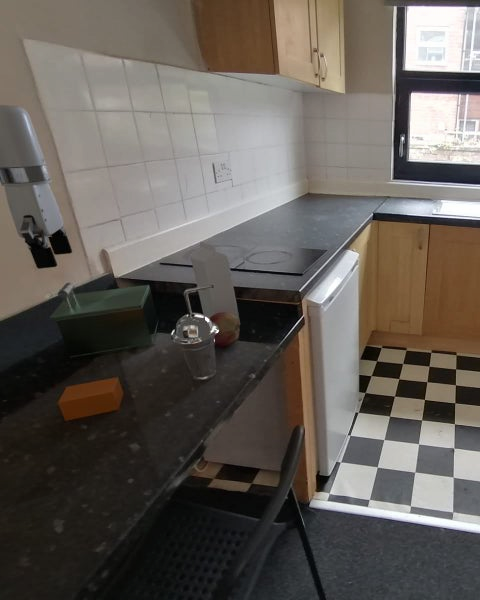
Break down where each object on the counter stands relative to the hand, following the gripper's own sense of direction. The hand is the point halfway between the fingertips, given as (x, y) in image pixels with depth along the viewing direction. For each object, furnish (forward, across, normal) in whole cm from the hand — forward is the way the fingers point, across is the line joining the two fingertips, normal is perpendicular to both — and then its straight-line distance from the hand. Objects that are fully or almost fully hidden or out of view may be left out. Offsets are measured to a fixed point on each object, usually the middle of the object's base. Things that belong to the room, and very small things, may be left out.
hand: (56, 260), depth 85 cm
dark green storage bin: (+21, -1, +6) cm, 22 cm away
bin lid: (+11, -1, +6) cm, 13 cm away
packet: (+21, +26, +7) cm, 34 cm away
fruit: (+22, +11, +30) cm, 38 cm away
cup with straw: (+22, +22, +26) cm, 40 cm away
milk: (+22, +1, +29) cm, 36 cm away
